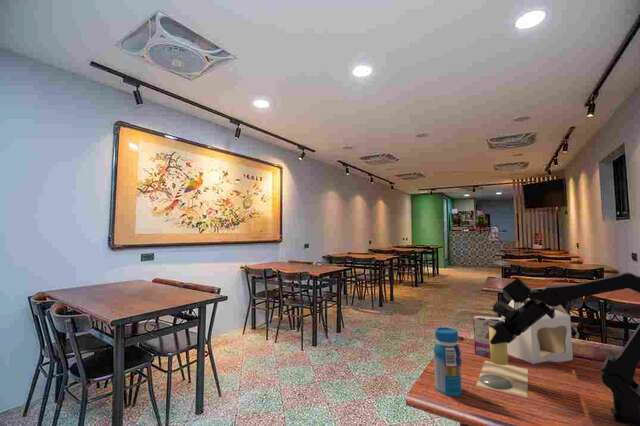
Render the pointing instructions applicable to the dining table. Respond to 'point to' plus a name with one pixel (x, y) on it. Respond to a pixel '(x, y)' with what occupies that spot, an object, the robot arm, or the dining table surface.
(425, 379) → the dining table surface
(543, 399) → the dining table surface
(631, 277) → the robot arm
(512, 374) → the base board
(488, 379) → the slate seat
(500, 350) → the yellow cylinder
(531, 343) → the gable box
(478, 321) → the candy bar box
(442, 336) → the beverage bottle
